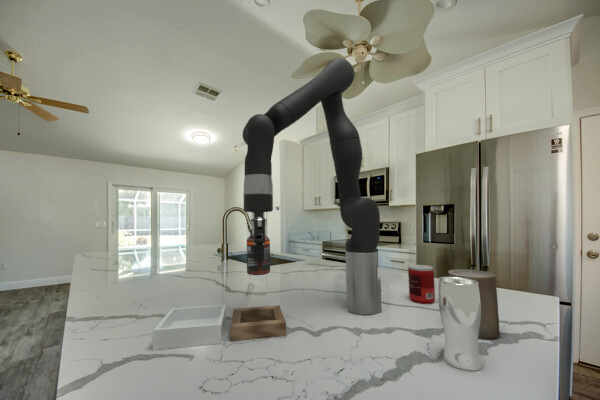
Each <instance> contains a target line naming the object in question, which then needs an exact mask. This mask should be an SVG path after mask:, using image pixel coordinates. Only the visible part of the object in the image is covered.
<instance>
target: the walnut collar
mask: <svg viewBox="0 0 600 400" xmlns="http://www.w3.org/2000/svg"><path fill="white" fill-rule="evenodd" d="M286 328H287V321H286V320H285V317H284V314H283V311H282V308H281V306H280V305H266V306H265V305H264V306H251V307H239V308H233V311H232V317H231V323H230V342H237V341H238V342H239V341H247V340H256V339H257V340H258V339H259V340H260V339H267V338H270V339H271V338H276V337H279V338H280V337H286V336H287V329H286Z"/></svg>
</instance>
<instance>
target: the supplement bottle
mask: <svg viewBox="0 0 600 400" xmlns="http://www.w3.org/2000/svg"><path fill="white" fill-rule="evenodd" d="M249 232H250V233H249V235H250V236H249V237H247V238H246V273H247V275H249V276H264V275H268V274H269V273H270V272H271V239H270V237H268V236H267V235H266V236H265V244H264V260H263V261H255V246H254V237H252V228H250V229H249ZM257 238H262V237H256V239H257Z"/></svg>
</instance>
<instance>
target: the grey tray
mask: <svg viewBox="0 0 600 400" xmlns="http://www.w3.org/2000/svg"><path fill="white" fill-rule="evenodd" d="M226 321H227V304H220V305H219V304H218V305H216V304H215V305H202V306H191V307H190V306H189V307H174V308H171V309H170V310H169V311H168V313H166V315H165V316H164V317H163V318H162V319H161V321H160V322H159V323H158V324H157V326H156V327H155V328H154V329H153V330H152V331H153V333H152V351H158V350H166V349H167V350H169V349H176V348H177V349H179V348H190V347H197V346H198V347H200V346H210V345H218V344H219V345H220V344H222V340H223V336H224V331H225V325H226Z"/></svg>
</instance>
